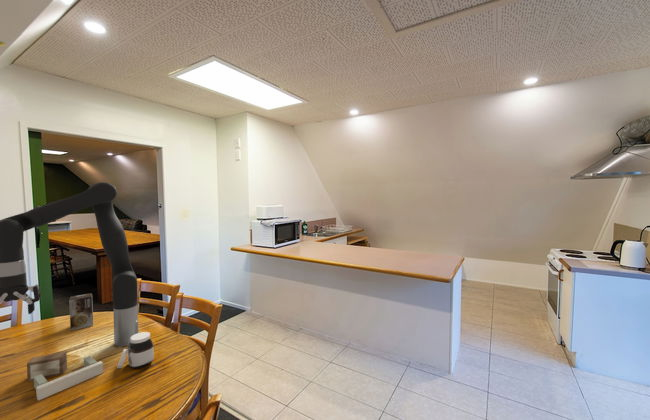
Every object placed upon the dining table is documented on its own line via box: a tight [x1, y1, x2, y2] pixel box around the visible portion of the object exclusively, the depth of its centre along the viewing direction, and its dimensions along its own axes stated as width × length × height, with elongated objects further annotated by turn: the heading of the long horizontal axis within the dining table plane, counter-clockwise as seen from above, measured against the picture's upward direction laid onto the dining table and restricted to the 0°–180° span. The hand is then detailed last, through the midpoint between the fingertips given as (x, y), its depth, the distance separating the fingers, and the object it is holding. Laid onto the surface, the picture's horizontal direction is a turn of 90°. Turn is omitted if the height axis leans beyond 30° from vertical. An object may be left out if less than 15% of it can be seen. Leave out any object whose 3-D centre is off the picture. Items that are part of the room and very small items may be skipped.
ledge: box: [33, 355, 104, 402], centre depth 104 cm, size 18×10×4 cm, turn 147°
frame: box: [26, 351, 68, 383], centre depth 107 cm, size 10×4×7 cm, turn 117°
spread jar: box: [116, 331, 155, 370], centre depth 114 cm, size 12×11×12 cm
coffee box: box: [68, 292, 94, 331], centre depth 147 cm, size 9×6×16 cm
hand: (14, 316), depth 104 cm, fingers open, 8 cm apart
